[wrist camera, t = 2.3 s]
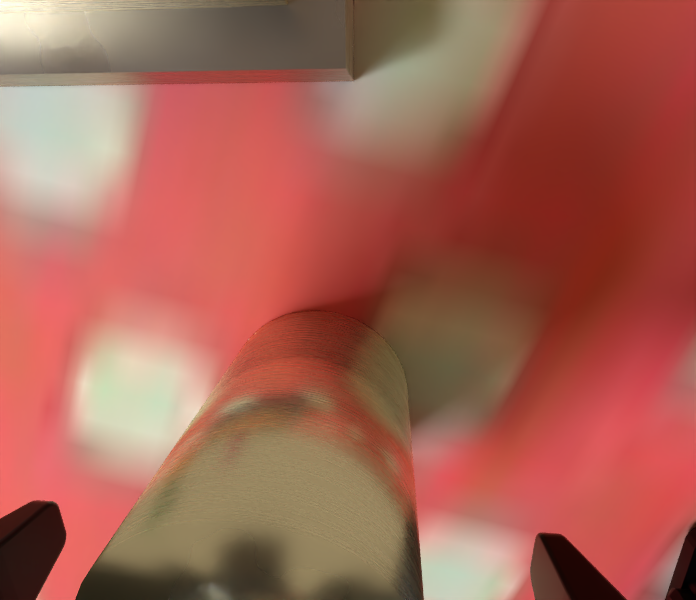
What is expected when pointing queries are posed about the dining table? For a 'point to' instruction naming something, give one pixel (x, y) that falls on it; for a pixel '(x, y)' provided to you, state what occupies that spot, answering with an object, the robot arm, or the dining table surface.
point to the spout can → (282, 480)
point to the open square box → (175, 41)
